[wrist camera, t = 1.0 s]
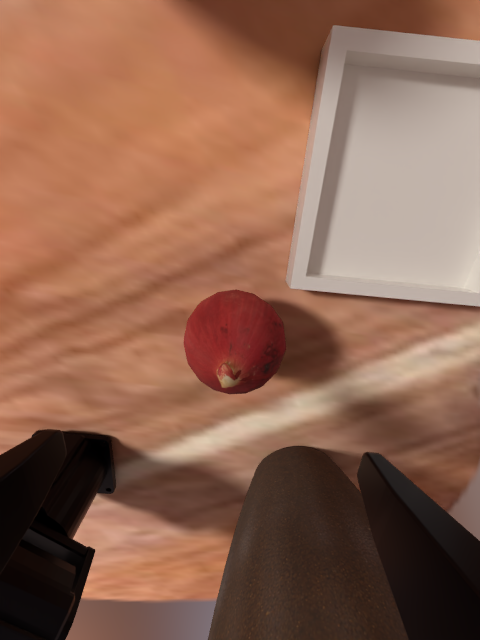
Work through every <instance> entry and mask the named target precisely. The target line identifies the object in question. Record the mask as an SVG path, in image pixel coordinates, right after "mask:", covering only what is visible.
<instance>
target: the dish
mask: <svg viewBox="0 0 480 640" xmlns="http://www.w3.org/2000/svg"><path fill="white" fill-rule="evenodd" d="M286 282H287V284H288V286H289V287H290V288H291V289H302V290H312V291H323V292H333V293H344V294H354V295H365V296H375V297H386V298H396V299H407V300H417V301H428V302H438V303H449V304H459V305H470V306H480V41H476V40H467V39H457V38H448V37H439V36H430V35H420V34H411V33H402V32H393V31H384V30H374V29H365V28H356V27H347V26H337V25H333V26H332V29H331V31H330V33H329V35H328V37H327V39H326V41H325V44H324V46H323V48H322V51H321V57H320V63H319V70H318V76H317V83H316V89H315V96H314V102H313V108H312V115H311V121H310V128H309V134H308V141H307V147H306V153H305V160H304V166H303V173H302V179H301V186H300V192H299V198H298V205H297V211H296V218H295V224H294V231H293V237H292V243H291V250H290V256H289V263H288V269H287V276H286Z"/></svg>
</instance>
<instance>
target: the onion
mask: <svg viewBox="0 0 480 640" xmlns="http://www.w3.org/2000/svg"><path fill="white" fill-rule="evenodd" d="M184 347H185V352H186V357H187V361H188V365H189V366H190V367H191V369H192V370H193V372H194V373H195V374H196V376H197V377H198V378H199V380H200V381H201V382H203V383H204V384H206V385H207V386H209V387H210V388H212V389H213V390H216V391H220V392H224V393H227V394H242V393H247V392H250V391H253V390H255V389H258V388H260V387H262V386H263V385H264V384H265V383H266V382H267V381H268V380H269V379H270V378H271V377H272V376H273V375H274V374H275V373H276V372H277V370H278V368H279V366H280V363H281V361H282V358H283V356H284V353H285V350H286V341H285V334H284V326H283V322H282V321H281V319H280V318H279V316H278V315H277V313H276V312H275V310H274V309H273V307H272V306H271V305H269V304H268V303H266V302H265V301H263V300H262V299H260V298H259V297H257V296H256V295H254V294H252V293H248V292H244V291H240V290H230V291H223V292H218V293H216V294H214V295H212V296H210V297H209V298H207V299H205V300H203V301H202V302H201V303H200V304H199V305H198V306H197V307H196V309H195V310H194V312H193V313H192V315H191V316H190V317H189V319H188V321H187V326H186V331H185V336H184Z"/></svg>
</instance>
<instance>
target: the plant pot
mask: <svg viewBox="0 0 480 640" xmlns="http://www.w3.org/2000/svg"><path fill="white" fill-rule="evenodd" d="M208 640H409V639H408V636H407V633H406V631H405V628H404V625H403V622H402V619H401V617H400V614H399V611H398V608H397V605H396V602H395V600H394V597H393V594H392V591H391V588H390V585H389V583H388V580H387V577H386V574H385V571H384V569H383V566H382V563H381V560H380V557H379V554H378V552H377V549H376V546H375V543H374V540H373V536H372V533H371V529H370V526H369V522H368V518H367V514H366V510H365V506H364V502H363V498H362V494H361V492H360V491H359V490H358V489H357V488H356V486H355V485H354V484H353V483H352V482H351V481H350V480H349V478H348V477H347V476H346V475H345V474H344V473H343V472H342V471H341V469H340V468H339V467H338V466H337V465H336V464H335V463H334V462H333V461H332V460H331V459H330V458H329V457H328V456H327V455H326V454H324V453H322V452H320V451H318V450H316V449H313V448H309V447H299V446H296V447H288V448H283V449H280V450H277V451H275V452H273V453H271V454H270V455H268V456H267V457H266V458H264V459H263V460H262V461H261V463H260V464H259V465H258V467H257V469H256V471H255V474H254V477H253V479H252V482H251V484H250V487H249V490H248V493H247V495H246V498H245V501H244V504H243V507H242V510H241V513H240V516H239V519H238V523H237V526H236V529H235V533H234V536H233V540H232V543H231V547H230V550H229V554H228V558H227V561H226V565H225V569H224V573H223V577H222V581H221V585H220V589H219V593H218V597H217V602H216V606H215V610H214V615H213V619H212V624H211V628H210V633H209V637H208Z"/></svg>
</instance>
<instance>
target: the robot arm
mask: <svg viewBox="0 0 480 640" xmlns="http://www.w3.org/2000/svg"><path fill="white" fill-rule="evenodd" d="M104 442H105V443H104ZM357 477H358V482H359V486H360V490H361V494H362V498H363V502H364V506H365V510H366V514H367V518H368V522H369V526H370V529H371V533H372V536H373V540H374V543H375V546H376V549H377V552H378V554H379V557H380V560H381V563H382V566H383V569H384V571H385V574H386V577H387V580H388V583H389V585H390V588H391V591H392V594H393V597H394V600H395V602H396V605H397V608H398V611H399V614H400V617H401V619H402V622H403V625H404V628H405V631H406V633H407V636H408V639H409V640H480V541H479V540H478V539H477V538H476V537H474V536H473V535H472V534H471V533H470V532H469V531H467V530H466V529H465V528H464V527H463V526H462V525H461V524H460V523H458V522H457V521H456V520H455V519H454V518H453V517H452V516H450V515H449V514H448V513H447V512H446V511H445V510H444V509H442V508H441V507H440V506H439V505H438V504H437V503H436V502H434V501H433V500H432V499H431V498H430V497H429V496H428V495H426V494H425V493H424V492H423V491H422V490H421V489H420V488H418V487H417V486H416V485H415V484H414V483H413V482H412V481H410V480H409V479H408V478H407V477H406V476H405V475H404V474H402V473H401V472H400V471H399V470H398V469H397V468H396V467H394V466H393V465H392V464H391V463H390V462H389V461H388V460H386V459H385V458H384V457H383V456H382V455H380V454H379V453H372V452H365V453H364V454H363V456H362V459H361V463H360V466H359V469H358V474H357ZM115 488H116V482H115V472H114V462H113V453H112V443H111V439H110V438H109V437H107V436H99V435H87V434H76V433H64V432H62V431H60V430H52V429H47V430H44V431H41V430H38V431H36V432H35V433H34V434H33V435H32V437H31V438H30V439H28V440H26V441H24V442H23V443H21V444H19V445H17V446H15V447H14V448H12V449H10V450H8V451H7V452H5V453H3V454H1V455H0V640H65V639H66V637H67V635H68V632H69V630H70V628H71V626H72V623H73V620H74V618H75V615H76V612H77V608H78V605H79V602H80V599H81V596H82V592H83V589H84V586H85V583H86V579H87V576H88V573H89V570H90V566H91V563H92V560H93V557H94V553H95V549H93V548H91V547H86V546H84V545H82V544H80V543H79V542H77V541H75V540H73V537H74V535H75V534H76V532H77V530H78V528H79V526H80V524H81V522H82V520H83V519H84V517H85V515H86V513H87V511H88V509H89V507H90V505H91V503H92V502H93V500H94V498H95V496H96V494H97V493H107V494H111V493H113V492H114V490H115Z"/></svg>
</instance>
